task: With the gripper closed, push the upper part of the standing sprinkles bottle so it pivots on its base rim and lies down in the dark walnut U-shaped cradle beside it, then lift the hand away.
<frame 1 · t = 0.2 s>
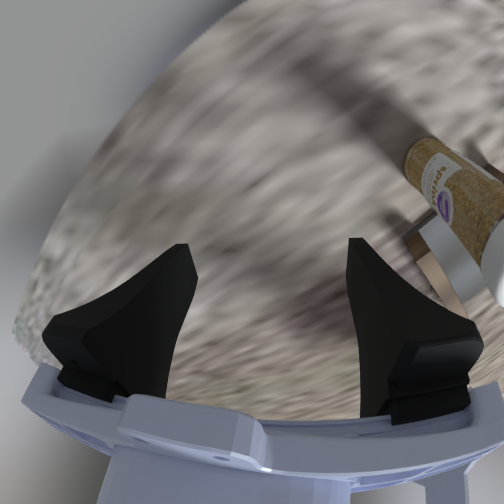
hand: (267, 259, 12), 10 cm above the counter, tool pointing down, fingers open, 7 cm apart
cradle: (472, 246, 21), on the counter
sprinkles bottle: (426, 163, 18), on the counter
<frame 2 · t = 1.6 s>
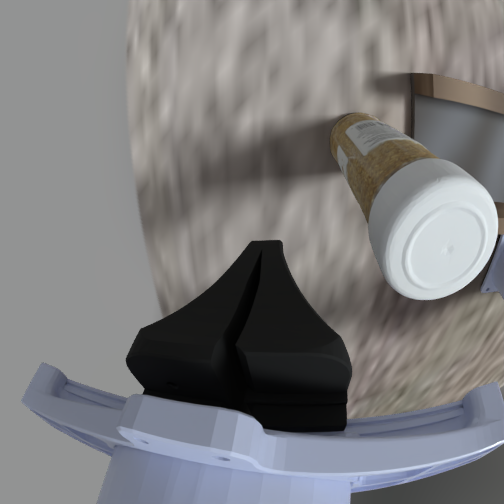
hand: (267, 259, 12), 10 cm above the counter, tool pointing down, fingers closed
cradle: (476, 152, 16), on the counter
sprinkles bottle: (359, 141, 18), on the counter
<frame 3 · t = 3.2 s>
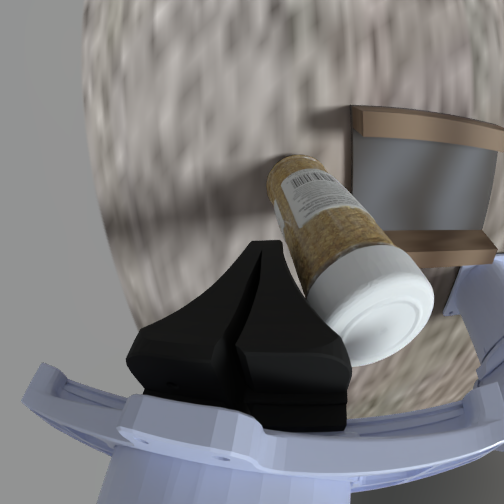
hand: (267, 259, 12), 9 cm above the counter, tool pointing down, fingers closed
cradle: (429, 181, 18), on the counter
sprinkles bottle: (297, 182, 20), on the counter
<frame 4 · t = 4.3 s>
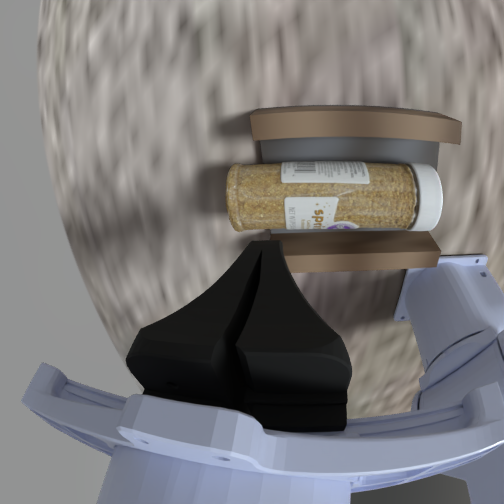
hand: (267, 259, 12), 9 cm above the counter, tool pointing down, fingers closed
cradle: (354, 179, 19), on the counter
sprinkles bottle: (230, 197, 18), point 3 cm above the counter, touching cradle
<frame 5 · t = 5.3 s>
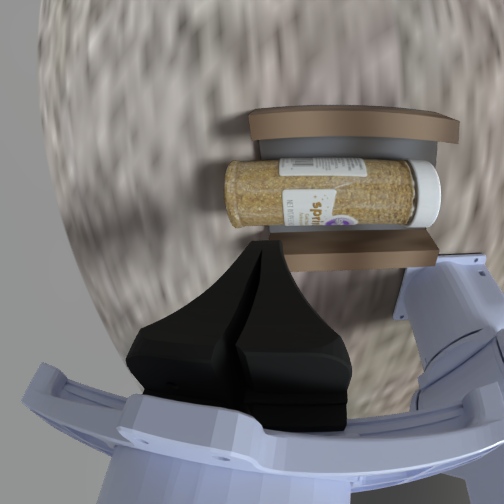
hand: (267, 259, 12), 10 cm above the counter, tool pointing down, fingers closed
cradle: (353, 179, 19), on the counter
sprinkles bottle: (228, 194, 18), point 3 cm above the counter, touching cradle
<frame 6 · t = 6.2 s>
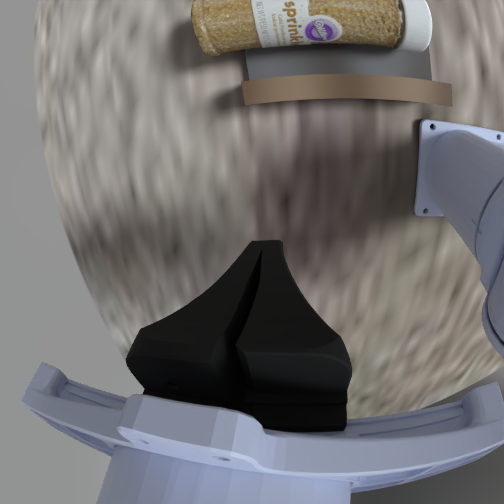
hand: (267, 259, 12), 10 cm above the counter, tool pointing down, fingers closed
cradle: (337, 23, 13), on the counter
sprinkles bottle: (199, 27, 13), point 3 cm above the counter, touching cradle
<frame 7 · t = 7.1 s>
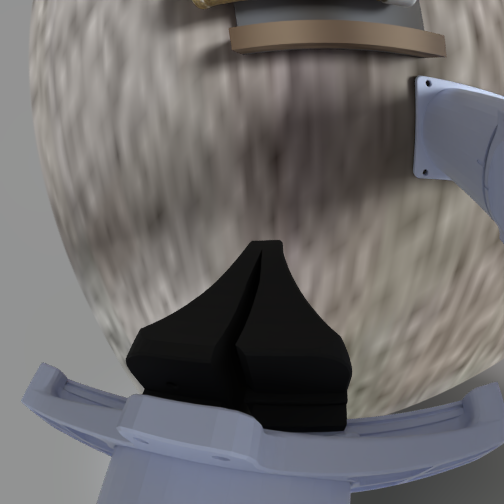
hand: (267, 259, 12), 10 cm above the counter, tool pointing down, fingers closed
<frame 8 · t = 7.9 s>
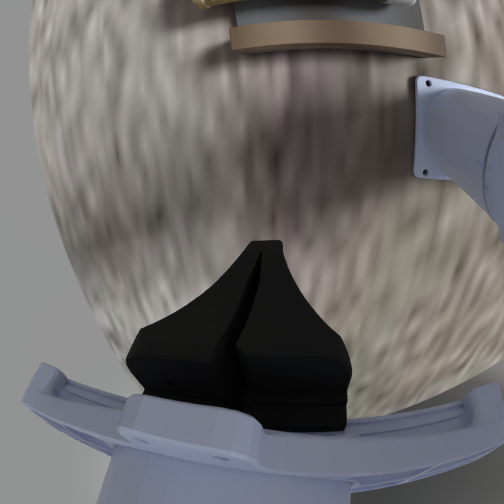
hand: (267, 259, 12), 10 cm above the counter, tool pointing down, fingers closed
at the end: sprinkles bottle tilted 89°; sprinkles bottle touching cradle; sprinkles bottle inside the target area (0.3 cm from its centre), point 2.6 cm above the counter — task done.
